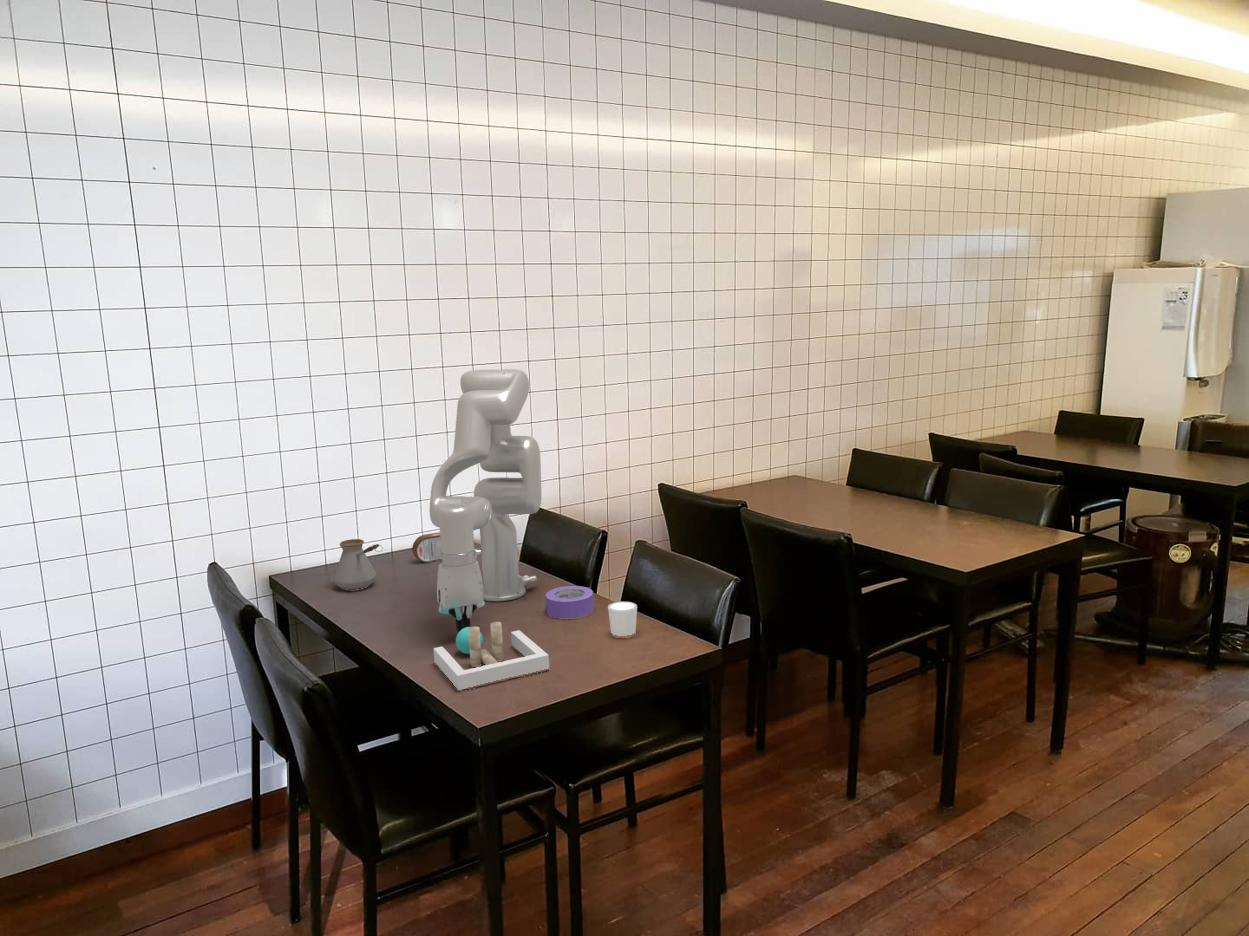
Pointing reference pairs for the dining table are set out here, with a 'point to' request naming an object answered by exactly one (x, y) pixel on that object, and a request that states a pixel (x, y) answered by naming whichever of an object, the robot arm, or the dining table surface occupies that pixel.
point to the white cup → (622, 618)
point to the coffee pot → (354, 566)
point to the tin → (427, 547)
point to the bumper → (497, 671)
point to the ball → (465, 640)
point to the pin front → (487, 657)
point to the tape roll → (569, 602)
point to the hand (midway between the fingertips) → (463, 633)
